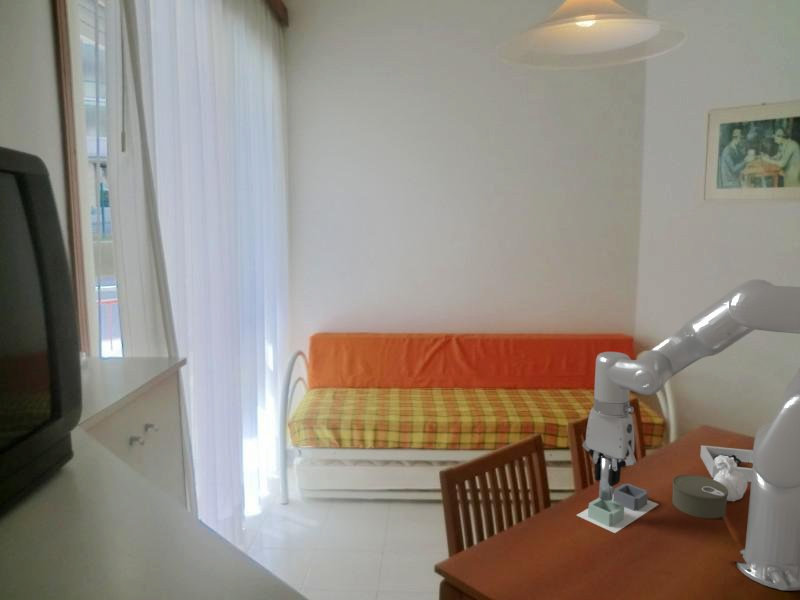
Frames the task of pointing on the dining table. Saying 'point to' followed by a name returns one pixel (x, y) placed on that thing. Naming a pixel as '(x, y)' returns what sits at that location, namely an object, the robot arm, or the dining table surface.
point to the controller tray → (743, 455)
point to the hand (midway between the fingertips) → (606, 480)
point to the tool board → (619, 508)
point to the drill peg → (605, 479)
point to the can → (700, 496)
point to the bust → (730, 477)
